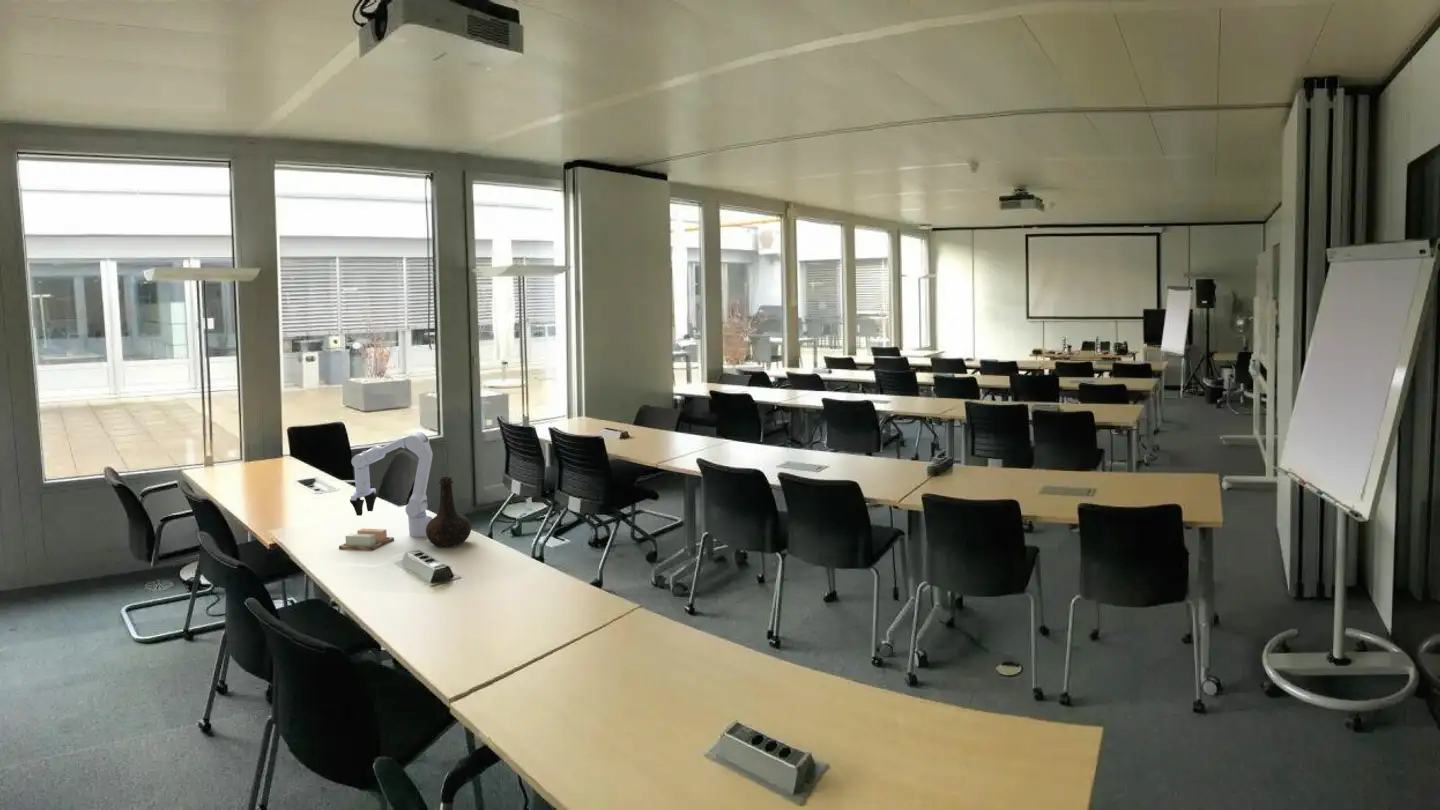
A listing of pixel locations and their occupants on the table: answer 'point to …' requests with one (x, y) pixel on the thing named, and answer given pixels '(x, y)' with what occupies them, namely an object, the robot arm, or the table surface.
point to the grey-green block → (360, 540)
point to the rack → (378, 544)
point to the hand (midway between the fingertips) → (364, 513)
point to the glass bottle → (447, 520)
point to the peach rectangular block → (375, 533)
